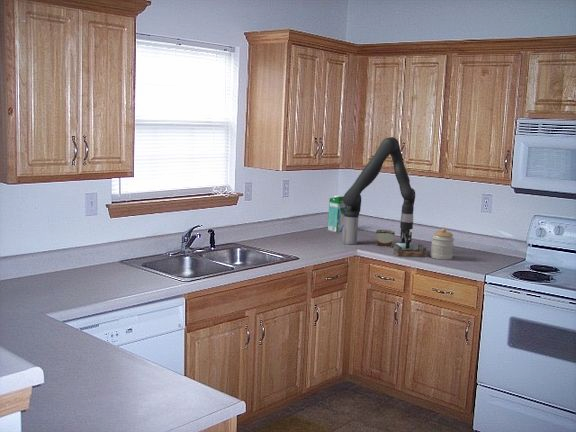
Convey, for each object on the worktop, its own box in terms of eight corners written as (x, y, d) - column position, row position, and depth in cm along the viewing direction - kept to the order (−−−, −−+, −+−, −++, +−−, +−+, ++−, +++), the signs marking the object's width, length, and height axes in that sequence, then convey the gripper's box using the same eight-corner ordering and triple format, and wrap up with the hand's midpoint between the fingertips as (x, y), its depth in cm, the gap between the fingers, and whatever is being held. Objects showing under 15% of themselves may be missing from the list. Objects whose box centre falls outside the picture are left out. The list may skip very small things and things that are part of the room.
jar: (449, 261, 386) (451, 231, 384) (427, 257, 393) (429, 228, 390) (455, 257, 398) (457, 228, 395) (433, 254, 404) (436, 225, 401)
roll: (398, 244, 404) (395, 241, 409) (397, 252, 406) (394, 249, 410) (414, 245, 406) (411, 242, 410) (412, 252, 407) (410, 249, 412)
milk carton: (336, 229, 473) (338, 194, 469) (345, 231, 466) (348, 196, 462) (327, 230, 467) (329, 194, 463) (336, 232, 460) (338, 196, 456)
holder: (397, 256, 392) (398, 247, 391) (393, 253, 400) (394, 244, 400) (425, 257, 394) (426, 247, 393) (420, 253, 403) (421, 244, 402)
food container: (393, 245, 424) (394, 230, 422) (394, 247, 418) (395, 231, 416) (374, 244, 425) (375, 228, 424) (374, 246, 419) (375, 230, 417)
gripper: (397, 218, 410) (395, 244, 413) (404, 222, 397) (402, 249, 399) (409, 219, 412) (407, 244, 414) (416, 222, 398) (414, 249, 400)
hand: (405, 247), depth 406 cm, fingers open, 8 cm apart
